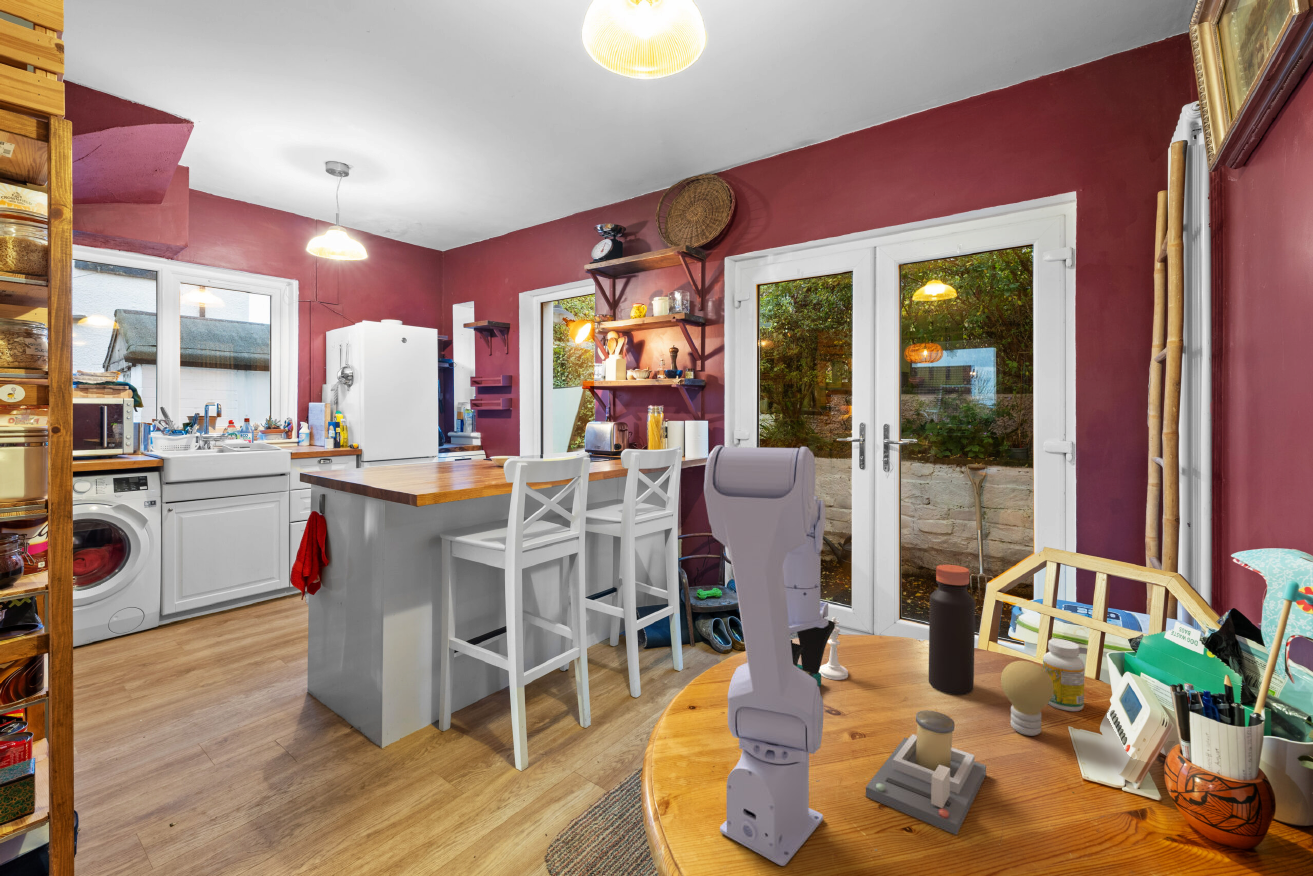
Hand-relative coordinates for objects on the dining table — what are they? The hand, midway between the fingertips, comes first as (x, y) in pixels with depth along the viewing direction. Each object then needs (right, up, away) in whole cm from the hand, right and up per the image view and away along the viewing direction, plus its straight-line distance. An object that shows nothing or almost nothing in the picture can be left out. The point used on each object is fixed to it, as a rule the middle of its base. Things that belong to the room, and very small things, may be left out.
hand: (798, 681), depth 81 cm
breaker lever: (+13, -9, -13) cm, 20 cm away
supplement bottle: (+45, -9, +12) cm, 47 cm away
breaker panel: (+14, -10, -8) cm, 19 cm away
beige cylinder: (+16, -8, -6) cm, 19 cm away
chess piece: (+12, -9, +23) cm, 27 cm away
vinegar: (+30, -9, +18) cm, 36 cm away
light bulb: (+34, -9, +4) cm, 35 cm away
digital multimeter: (+1, -9, +16) cm, 18 cm away
